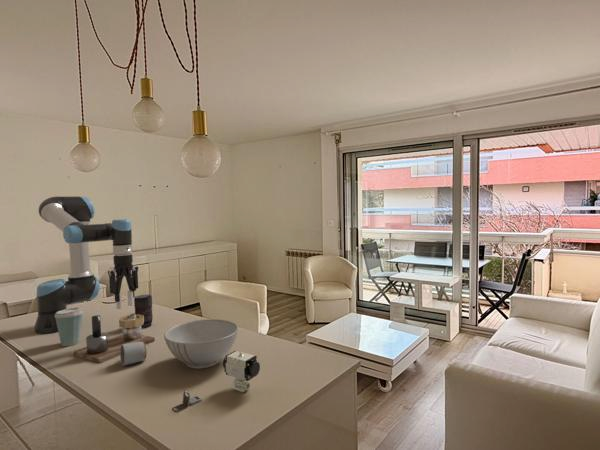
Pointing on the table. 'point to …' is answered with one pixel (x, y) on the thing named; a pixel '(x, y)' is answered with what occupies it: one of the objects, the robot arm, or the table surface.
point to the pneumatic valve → (241, 369)
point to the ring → (131, 321)
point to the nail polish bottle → (96, 338)
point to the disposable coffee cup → (69, 325)
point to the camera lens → (144, 309)
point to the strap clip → (187, 401)
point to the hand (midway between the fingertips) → (125, 307)
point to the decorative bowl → (201, 341)
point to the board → (111, 348)
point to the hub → (132, 332)
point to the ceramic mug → (133, 353)
